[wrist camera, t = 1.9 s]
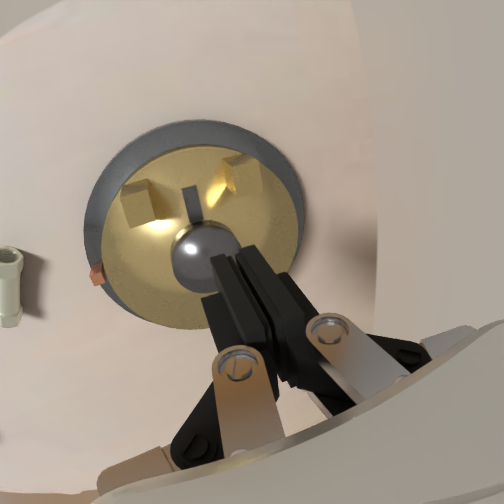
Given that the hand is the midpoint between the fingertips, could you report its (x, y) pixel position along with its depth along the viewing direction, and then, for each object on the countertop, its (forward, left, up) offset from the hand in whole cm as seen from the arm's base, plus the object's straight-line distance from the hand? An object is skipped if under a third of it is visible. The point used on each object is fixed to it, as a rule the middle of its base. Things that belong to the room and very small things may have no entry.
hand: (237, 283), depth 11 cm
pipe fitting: (+17, +15, -19) cm, 30 cm away
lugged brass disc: (-3, +6, -17) cm, 18 cm away
